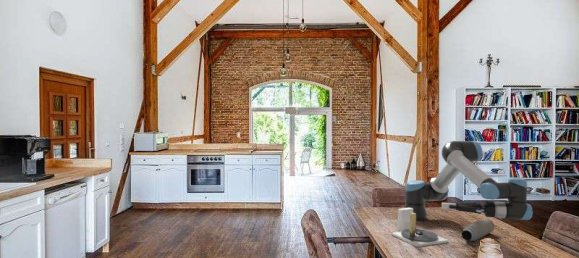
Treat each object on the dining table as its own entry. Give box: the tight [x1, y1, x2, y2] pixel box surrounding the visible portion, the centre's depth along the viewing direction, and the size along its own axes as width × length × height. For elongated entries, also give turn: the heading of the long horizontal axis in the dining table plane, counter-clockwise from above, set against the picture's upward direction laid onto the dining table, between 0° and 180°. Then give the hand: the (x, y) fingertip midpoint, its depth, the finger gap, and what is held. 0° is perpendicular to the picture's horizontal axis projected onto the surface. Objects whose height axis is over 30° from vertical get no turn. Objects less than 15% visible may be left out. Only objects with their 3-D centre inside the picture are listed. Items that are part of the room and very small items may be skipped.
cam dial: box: [400, 213, 439, 241], centre depth 194 cm, size 18×18×13 cm
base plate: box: [391, 231, 449, 247], centre depth 194 cm, size 20×20×3 cm
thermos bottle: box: [461, 217, 495, 242], centre depth 197 cm, size 8×8×28 cm
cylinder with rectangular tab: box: [396, 207, 413, 232], centre depth 210 cm, size 9×9×12 cm
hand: (441, 205), depth 184 cm, fingers closed
